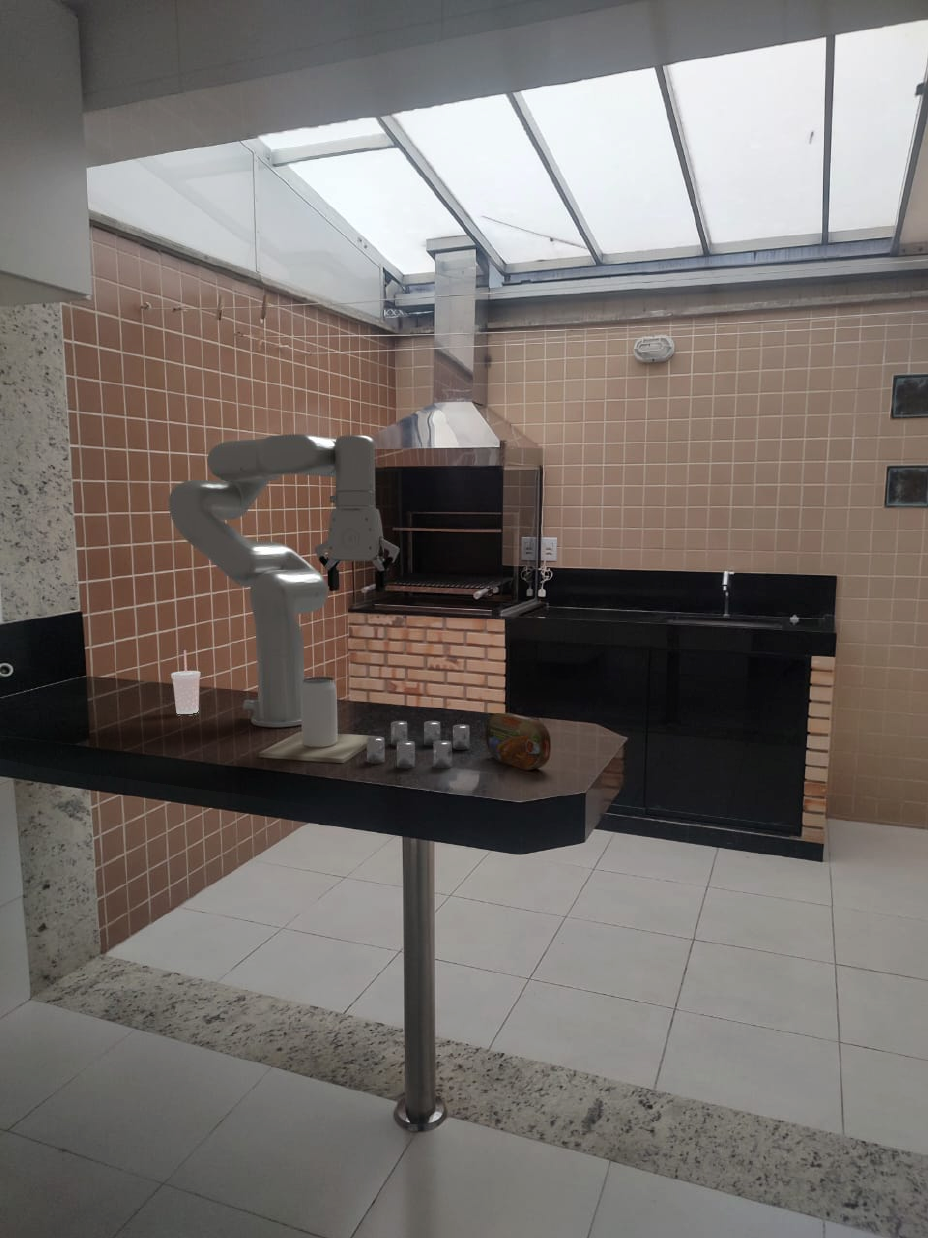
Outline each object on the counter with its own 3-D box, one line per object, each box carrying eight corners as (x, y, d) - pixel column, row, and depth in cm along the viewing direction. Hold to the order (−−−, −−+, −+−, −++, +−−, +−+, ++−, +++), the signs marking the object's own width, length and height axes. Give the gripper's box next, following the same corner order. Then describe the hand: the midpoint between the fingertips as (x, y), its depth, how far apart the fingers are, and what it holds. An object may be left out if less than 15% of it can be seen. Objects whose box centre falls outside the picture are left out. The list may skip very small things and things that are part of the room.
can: (306, 739, 152) (304, 676, 151) (340, 739, 152) (339, 676, 151) (298, 748, 146) (296, 682, 144) (333, 748, 145) (332, 682, 144)
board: (259, 757, 143) (259, 752, 143) (300, 735, 158) (300, 731, 158) (343, 763, 139) (343, 758, 139) (377, 740, 154) (377, 736, 154)
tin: (484, 755, 143) (483, 709, 143) (498, 753, 145) (498, 706, 144) (539, 776, 131) (539, 725, 130) (554, 772, 133) (554, 722, 132)
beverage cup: (177, 710, 181) (175, 648, 180) (205, 710, 182) (203, 648, 180) (169, 716, 175) (166, 652, 174) (197, 716, 176) (195, 652, 174)
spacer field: (361, 765, 138) (360, 742, 137) (397, 739, 155) (396, 718, 154) (446, 771, 134) (446, 748, 133) (473, 744, 151) (473, 723, 151)
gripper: (305, 501, 154) (307, 591, 156) (390, 500, 149) (391, 593, 151) (323, 502, 161) (325, 588, 163) (405, 501, 156) (406, 590, 158)
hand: (357, 591), depth 157 cm, fingers open, 9 cm apart
